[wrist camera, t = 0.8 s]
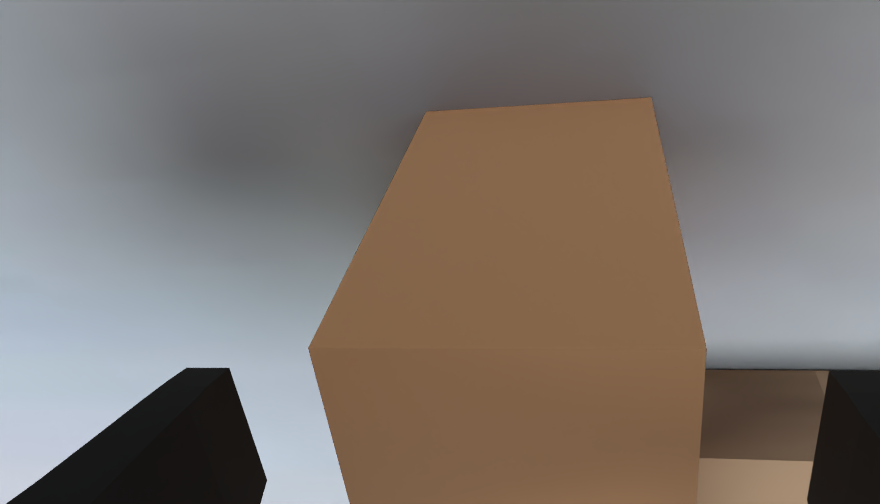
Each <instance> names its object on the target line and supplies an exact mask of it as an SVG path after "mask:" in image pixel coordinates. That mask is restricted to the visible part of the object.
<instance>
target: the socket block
mask: <svg viewBox="0 0 880 504" xmlns="http://www.w3.org/2000/svg"><path fill="white" fill-rule="evenodd" d="M828 374H829V371H806V370H705V381H704V396H703V411H702V426H701V441H700V456H699V471H698V486H697V501H696V504H808V502H807V496H808V490H809V484H810V479H811V473H812V467H813V461H814V455H815V449H816V444H817V438H818V432H819V426H820V420H821V414H822V409H823V403H824V397H825V391H826V385H827V379H828Z"/></svg>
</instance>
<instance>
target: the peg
mask: <svg viewBox="0 0 880 504" xmlns="http://www.w3.org/2000/svg"><path fill="white" fill-rule="evenodd" d="M308 349H309V353H310V357H311V360H312V364H313V368H314V372H315V375H316V379H317V383H318V387H319V390H320V394H321V398H322V401H323V405H324V409H325V413H326V416H327V420H328V424H329V428H330V431H331V435H332V439H333V443H334V446H335V450H336V454H337V458H338V461H339V465H340V469H341V473H342V476H343V480H344V484H345V488H346V491H347V495H348V499H349V502H350V504H696V501H697V486H698V471H699V456H700V441H701V426H702V411H703V396H704V381H705V366H706V351H707V348H706V344H705V339H704V335H703V330H702V326H701V321H700V317H699V312H698V308H697V303H696V298H695V294H694V289H693V285H692V280H691V276H690V271H689V267H688V262H687V257H686V253H685V248H684V244H683V239H682V235H681V230H680V226H679V221H678V216H677V212H676V207H675V203H674V198H673V194H672V189H671V185H670V180H669V175H668V171H667V166H666V162H665V157H664V153H663V148H662V144H661V139H660V135H659V130H658V125H657V121H656V116H655V112H654V107H653V103H652V98H651V97H648V98H632V99H617V100H601V101H585V102H569V103H554V104H538V105H522V106H506V107H491V108H475V109H459V110H444V111H428V112H426V113H425V115H424V117H423V119H422V121H421V123H420V125H419V127H418V129H417V131H416V133H415V135H414V137H413V139H412V141H411V143H410V145H409V147H408V149H407V151H406V153H405V155H404V157H403V159H402V161H401V163H400V165H399V167H398V169H397V171H396V173H395V175H394V177H393V179H392V181H391V183H390V185H389V187H388V189H387V191H386V193H385V195H384V197H383V199H382V201H381V203H380V205H379V207H378V209H377V211H376V213H375V215H374V217H373V219H372V221H371V223H370V225H369V227H368V229H367V231H366V233H365V235H364V237H363V239H362V241H361V243H360V245H359V247H358V249H357V251H356V253H355V255H354V257H353V259H352V261H351V263H350V265H349V267H348V269H347V271H346V273H345V275H344V277H343V279H342V281H341V283H340V285H339V287H338V290H337V292H336V294H335V296H334V298H333V300H332V302H331V304H330V306H329V308H328V310H327V312H326V314H325V316H324V318H323V320H322V322H321V324H320V326H319V328H318V330H317V332H316V334H315V336H314V338H313V340H312V342H311V344H310V346H309V348H308Z"/></svg>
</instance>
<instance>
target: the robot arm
mask: <svg viewBox="0 0 880 504" xmlns="http://www.w3.org/2000/svg"><path fill="white" fill-rule="evenodd" d="M266 482H267V479H266V476H265V473H264V470H263V467H262V464H261V461H260V458H259V455H258V452H257V449H256V446H255V443H254V440H253V437H252V434H251V431H250V428H249V425H248V422H247V419H246V416H245V413H244V410H243V407H242V405H241V402H240V399H239V396H238V393H237V390H236V387H235V384H234V381H233V378H232V375H231V372H230V369H229V368H186V369H184V370H183V371H181V372H180V373H178V374H177V375H176V376H174V377H173V378H171V379H170V380H168V381H167V382H166V383H164V384H163V385H162V386H160V387H159V388H158V389H156V390H155V391H154V392H152V393H151V394H150V395H148V396H147V397H146V398H144V399H143V400H142V401H140V402H139V403H138V404H136V405H135V406H134V407H133V408H131V409H130V410H129V411H127V412H126V413H125V414H124V415H122V416H121V417H120V418H118V419H117V420H116V421H115V422H113V423H112V424H111V425H109V426H108V427H107V428H106V429H104V430H103V431H102V432H101V433H99V434H98V435H97V436H95V437H94V438H93V439H91V440H90V441H89V442H88V443H86V444H85V445H84V446H82V447H81V448H80V449H79V450H77V451H76V452H75V453H73V454H72V455H71V456H69V457H68V458H67V459H66V460H64V461H63V462H62V463H60V464H59V465H58V466H56V467H55V468H54V469H53V470H51V471H50V472H49V473H47V474H46V475H45V476H43V477H42V478H41V479H40V480H38V481H37V482H36V483H34V484H33V485H32V486H30V487H29V488H27V489H26V490H25V491H23V492H22V493H20V494H19V495H18V496H16V497H15V498H13V499H12V500H11V501H9V502H8V503H7V504H260V503H261V500H262V496H263V492H264V489H265V485H266ZM807 502H808V504H880V371H829V374H828V379H827V385H826V391H825V397H824V403H823V409H822V414H821V420H820V426H819V432H818V438H817V444H816V449H815V455H814V461H813V467H812V473H811V479H810V484H809V490H808V496H807Z"/></svg>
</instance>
